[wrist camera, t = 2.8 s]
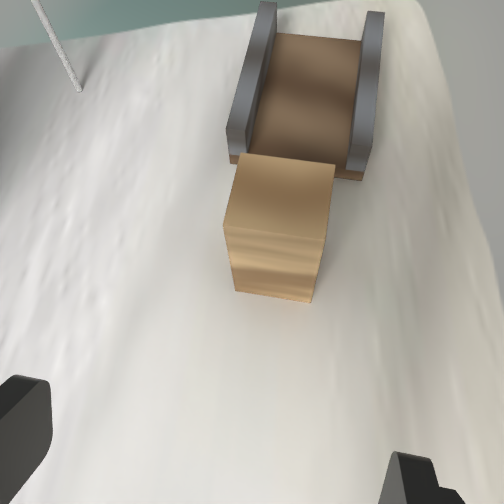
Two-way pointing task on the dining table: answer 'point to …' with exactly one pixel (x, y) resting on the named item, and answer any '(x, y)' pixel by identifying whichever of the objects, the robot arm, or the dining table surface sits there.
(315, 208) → the oak block
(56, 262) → the dining table surface
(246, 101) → the walnut track
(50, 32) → the lollipop
